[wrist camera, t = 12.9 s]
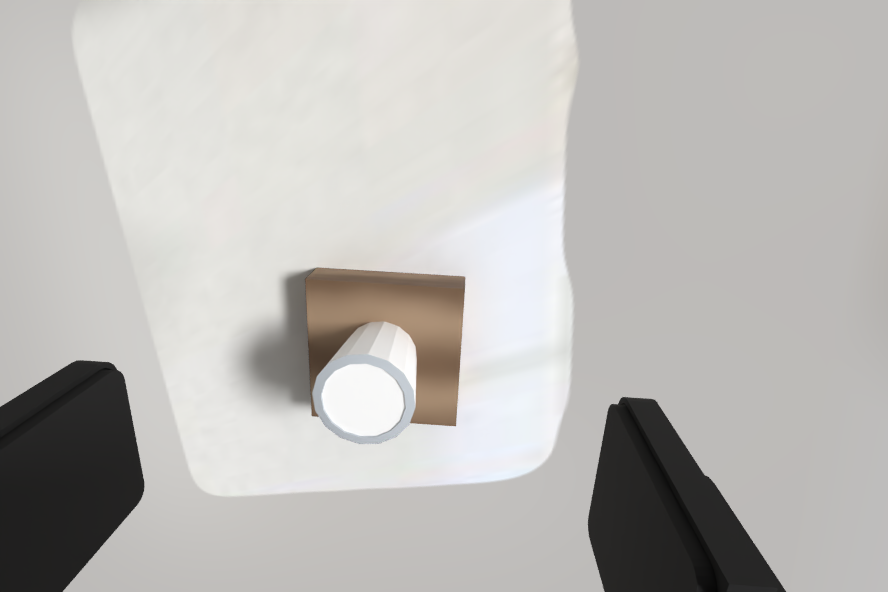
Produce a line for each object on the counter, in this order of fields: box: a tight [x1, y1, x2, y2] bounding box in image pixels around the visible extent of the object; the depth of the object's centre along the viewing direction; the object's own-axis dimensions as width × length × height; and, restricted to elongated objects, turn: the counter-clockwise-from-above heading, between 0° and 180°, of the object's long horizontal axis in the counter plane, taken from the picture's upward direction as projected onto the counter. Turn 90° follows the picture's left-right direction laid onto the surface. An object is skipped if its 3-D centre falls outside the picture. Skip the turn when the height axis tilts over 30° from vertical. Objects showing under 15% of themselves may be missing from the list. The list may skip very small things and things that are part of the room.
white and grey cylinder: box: [312, 322, 417, 444], centre depth 36 cm, size 7×7×7 cm
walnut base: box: [305, 268, 465, 426], centre depth 41 cm, size 12×12×3 cm
